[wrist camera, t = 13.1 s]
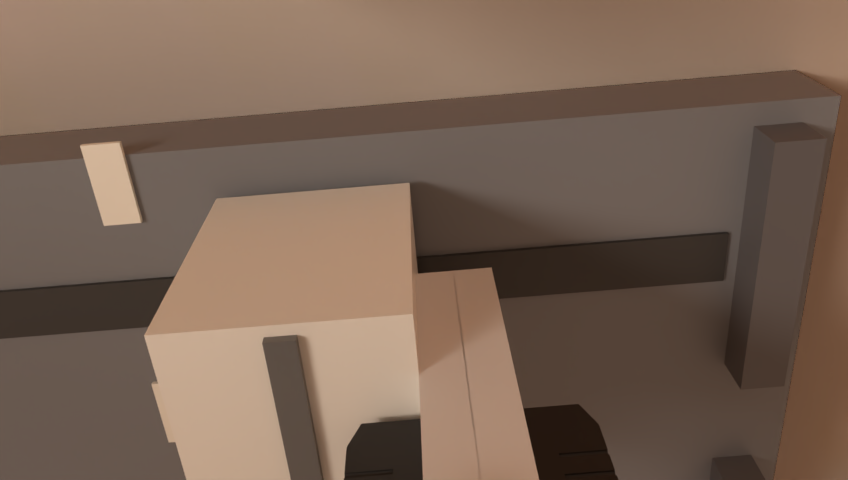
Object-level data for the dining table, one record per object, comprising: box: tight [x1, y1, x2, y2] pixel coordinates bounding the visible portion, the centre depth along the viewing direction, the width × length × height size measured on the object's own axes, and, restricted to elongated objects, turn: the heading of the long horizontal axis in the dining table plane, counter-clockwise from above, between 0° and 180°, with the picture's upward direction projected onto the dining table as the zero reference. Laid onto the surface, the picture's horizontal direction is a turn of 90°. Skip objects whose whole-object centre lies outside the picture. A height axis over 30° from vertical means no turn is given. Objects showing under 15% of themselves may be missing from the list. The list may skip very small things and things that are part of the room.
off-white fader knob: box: [144, 183, 421, 480], centre depth 15 cm, size 4×5×5 cm
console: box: [0, 70, 841, 480], centre depth 20 cm, size 24×17×3 cm
